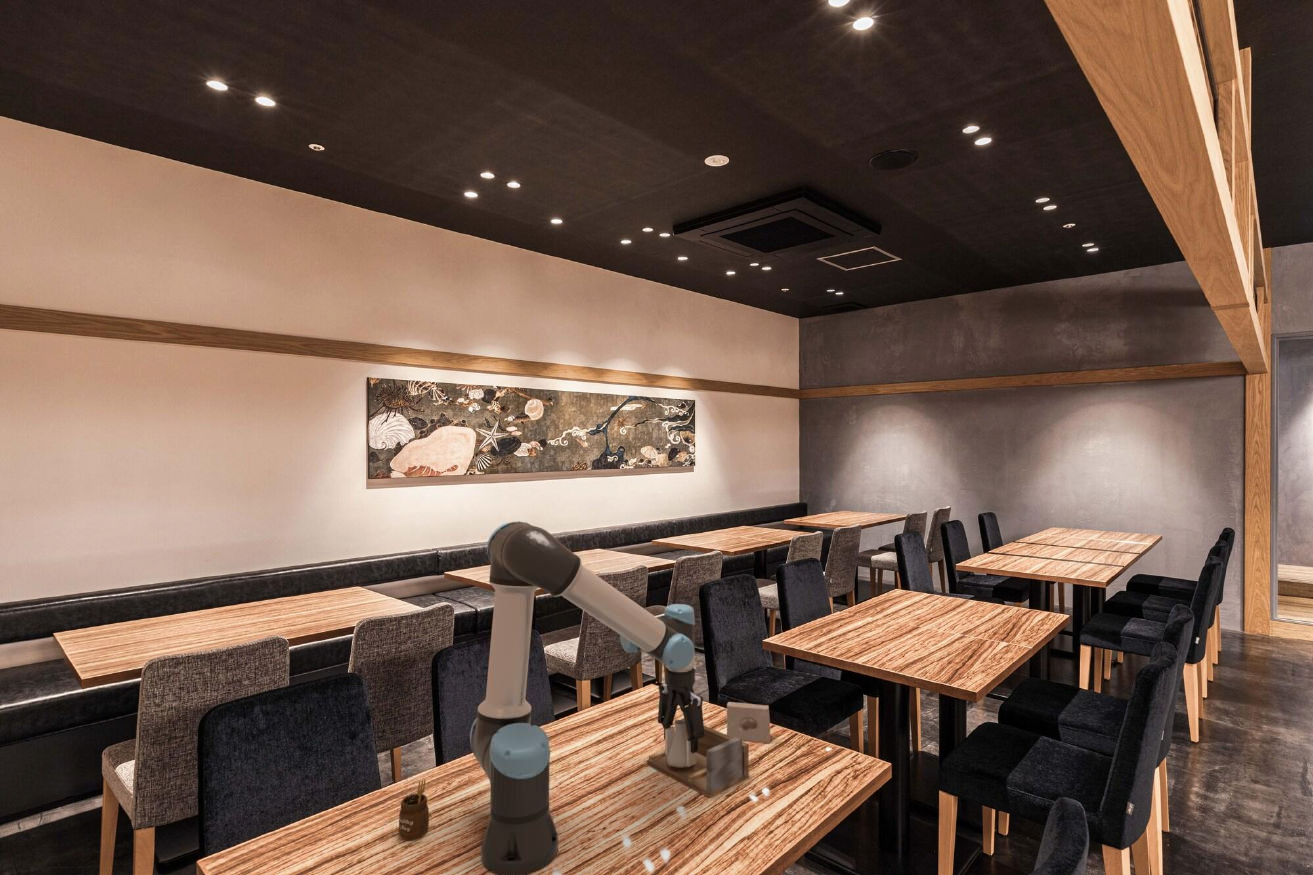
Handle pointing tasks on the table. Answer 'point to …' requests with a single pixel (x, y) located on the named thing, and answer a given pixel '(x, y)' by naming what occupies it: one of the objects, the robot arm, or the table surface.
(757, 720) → the fossil
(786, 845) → the table surface
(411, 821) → the utensil holder
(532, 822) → the robot arm
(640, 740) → the table surface
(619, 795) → the table surface
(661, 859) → the table surface
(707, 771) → the brown open box
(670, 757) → the flask
